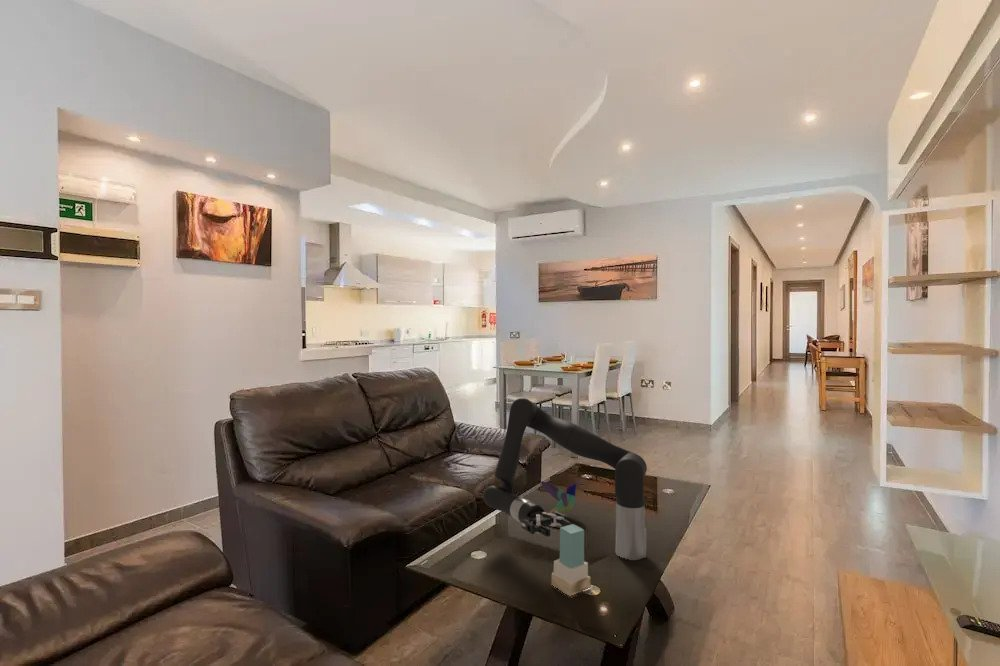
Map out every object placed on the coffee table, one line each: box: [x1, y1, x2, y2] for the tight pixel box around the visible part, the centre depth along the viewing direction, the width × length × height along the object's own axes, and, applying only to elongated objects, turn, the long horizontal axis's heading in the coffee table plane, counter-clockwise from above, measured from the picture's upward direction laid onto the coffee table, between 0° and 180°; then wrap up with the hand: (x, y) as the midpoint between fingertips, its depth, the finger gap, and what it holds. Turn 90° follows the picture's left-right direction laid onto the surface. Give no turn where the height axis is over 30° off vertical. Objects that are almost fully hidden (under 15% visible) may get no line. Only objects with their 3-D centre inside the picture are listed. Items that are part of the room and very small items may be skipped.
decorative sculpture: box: [540, 476, 585, 514], centre depth 197 cm, size 17×18×15 cm
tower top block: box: [553, 558, 589, 584], centre depth 145 cm, size 7×7×4 cm
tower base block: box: [551, 571, 591, 596], centre depth 145 cm, size 8×8×4 cm
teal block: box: [559, 523, 585, 568], centre depth 144 cm, size 5×5×10 cm
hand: (560, 530), depth 148 cm, fingers open, 8 cm apart
